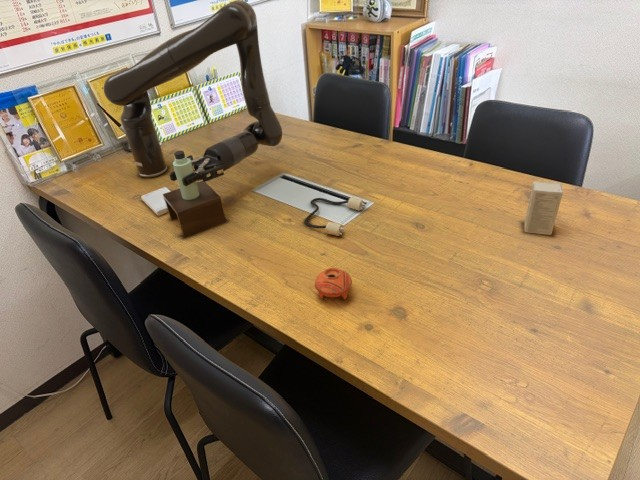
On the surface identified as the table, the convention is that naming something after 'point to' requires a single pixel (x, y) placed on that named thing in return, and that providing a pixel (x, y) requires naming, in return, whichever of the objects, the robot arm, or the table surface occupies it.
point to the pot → (333, 283)
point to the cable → (331, 226)
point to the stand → (195, 209)
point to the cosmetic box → (543, 207)
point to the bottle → (183, 169)
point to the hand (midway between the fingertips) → (177, 180)
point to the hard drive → (156, 200)
